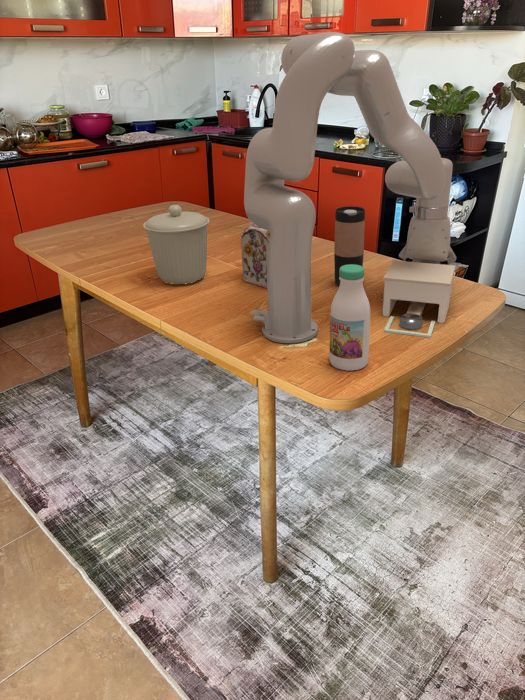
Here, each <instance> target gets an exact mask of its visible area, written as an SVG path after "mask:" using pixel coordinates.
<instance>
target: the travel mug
mask: <svg viewBox="0 0 525 700" xmlns="http://www.w3.org/2000/svg"><path fill="white" fill-rule="evenodd" d="M334 213H335V214H334V215H335V220H334V221H335V222H334V252H333V253H334V254H333V255H334V256H333V258H334V261H333V263H334V285H335V286H336V287H338V288H339V286H340V279H339V277H340V276H339V269H340V267H341V266H344V265H349V264H354V265H360V266H362V267H363V268H364V255H365V254H364V252H365V221H366V209H365V208H364V207H361V206H349V205H348V206H340V207H338V208H336V209H335V212H334Z"/></svg>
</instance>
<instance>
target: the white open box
mask: <svg viewBox="0 0 525 700" xmlns="http://www.w3.org/2000/svg"><path fill="white" fill-rule="evenodd" d="M455 271H456V265H453V264H448V265H443V264H430V263H418V262H406V261H405V260H393V261H392V262H391V264H390V266H389V267H388V269H387V270H386V273H385V274H384V276H383V277H382V278H383V281H384V289H383V301H382V302H383V303H382V304H383V305H382V317H389V318H390V317H391V316H390V315H391V313H392V311H393V310H394V307H395V305H396V303H397V301H408V302H411V301H415V302H425V303H426V304H437V305H438V306H439V307H438V315H437V323H439V324H440V323H441V324H445V323H446V322H445V321H446V319H447V315H448V311H449V307H450V303H451V296H452V295H451V294H452V286H453V277H454V275H455Z"/></svg>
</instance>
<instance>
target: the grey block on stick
mask: <svg viewBox="0 0 525 700" xmlns="http://www.w3.org/2000/svg"><path fill="white" fill-rule="evenodd" d="M417 262H418V263H430V264H435V261H431V260H419V259H417ZM426 304H427V303H425V302H415V301H410V304H409V306H408V309H407V311H406V313H405V314H416V315H419V316H421V317H422V315H423V311H424V309H425V306H426Z"/></svg>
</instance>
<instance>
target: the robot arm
mask: <svg viewBox="0 0 525 700" xmlns="http://www.w3.org/2000/svg"><path fill="white" fill-rule="evenodd" d="M355 49H356V48H355V44H354V42H353V40H352V38H350V37H349V36H348V35H347V34H345V33H344V32H343V33H342V32H337V31H326V32H325V31H324V32H318V33H312V34H302V35H298V36H295V37H292V38H291V39H290V40H289V41H288V42H286V44H285V45H284V47H283V49H282V53H281V58H280V60H281V67H282V70H283V72H284V74H285V76H284V78H283V80H282V81H281V83H280V85H279V88H278V91H277V94H276V98H275V105H274V112H273V113H274V114H273V121H272V127H265V128H263V129H260V130H259V131H258V132H256V133H255V134H254V135H253V136H252V139H251V140H250V142H249V144H248V147H247V150H246V157H245V158H246V159H245V174H244V175H245V176H244V190H243V191H244V194H243V205H244V206H243V207H244V210H245V215H246V216H247V218H248V220H249V221H250V223H254V224H255V225H257V226H259V227H261V228H264V229H266V230H268V231H270V232H271V236H270V240H269V243H268V247H267V252H266V267H267V288H266V289H267V308H268V309H266V310H264V309H263V310H262V309H258V308H253V310H252V312H251V313H252V317H253V319H252V321H253V322H258V323H259V322H261V323H263V325H262V326H261V331H262V333H261V334H263V337H264V338H266V339H267V340H269V341H272V342H274V343H275V342H276V343H281V344H296V343H303V342H306V341H309V340H312V339H313V338H315V337H316V336H317V334H318V333H319V325H318V324H317V322H316V321H314V320H313V319H312V243H313V242H312V241H313V234H314V230H315V226H316V225H315V224H316V223H315V222H316V217H317V216H316V215H317V213H316V208H315V205H314V203H313V201H312V199H311V197H310V196H308V195H307V194H306V193H304V192H303V191H300V190H298V189H296V188H292V187H289V186H286V185H285V181H286V182H297V183H298V182H301V181H303V180H305V179H307V178H308V177H309V176H310V174H311V172H312V171H313V170H312V169H313V167H314V163H315V154H316V144H317V143H316V142H317V132H318V122H319V116H320V110H321V107H322V103H323V100H325V99H324V98H325V97H326V95H327V94H332V95H336V96H346V97H354V99H355V101H356V103H357V105H358V108H359V111H360V112H361V115H362V118H363V119H364V122H365V124H366V127H367V129H368V132H369V134H370V135H371V137H372V138H373V139H374V140H376V141H377V142H378V143H379V144H381V145H382V146H384V147H386V148H388V149H389V150H391V151H393V152H394V153H396V154H397V155H399V156H400V157H401V158H402V159H403V160H399V161H396V162H395V163H393V164H391V165H390V166H389V167H388V169H387V170H386V173H385V177H384V181H385V185H386V187H387V189H389V191H391V192H392V193H394V194H397V195H400V196H401V195H402V196H405V197H411V198H415V200H416V201H415V202H416V203H415V205H413V206H409V213H413V214H414V216H412V217H411V219H410V222H409V226H408V231H407V240H406V244H405V246H404V247H403V248H402V250H401V251H400V252H399V254H398V257H399V258H400V259H402V261H406V262H417V259H419V260H431V261H435V264H443V265H451V264H452V263H454V262H456V260H457V256H456V254H455V252H454V251H453V249H452V247H451V234H452V233H451V231H452V230H451V219H450V217H449V216H448V215H449V214H448V213H449V205H450V204H449V203H450V195H451V186H452V177H453V168H454V167H453V166H454V164H453V162H452V160H450V159H449V158H445V157H441V153H440V151H439V149H438V147H437V145H436V144H435V142H434V141H433V140H432V138H431V137H430V136H429V135H428V134H427V133H426V132H425V130H424V129H422V127H421V126H420V125H419V124H418V123H417V122H416V121H415V120H414V119H413V118H412V117H411V116H410V115H409V112H408V110H407V108H406V104H405V101H404V99H403V96H402V93H401V90H400V88H399V86H398V82H397V81H396V77H395V75H394V71H393V68H392V66H391V64H390V62H389V60H388V57H387V56H386V55H385V54H384V53H383V52H381V51H379V50H375V49H373V50H372V49H362V50H355Z"/></svg>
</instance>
